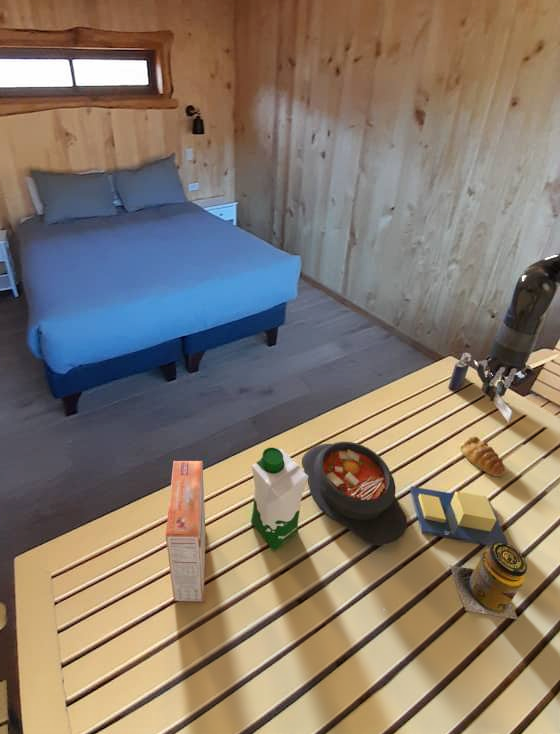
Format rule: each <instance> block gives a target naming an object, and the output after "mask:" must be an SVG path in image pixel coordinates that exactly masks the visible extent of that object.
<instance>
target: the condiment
mask: <svg viewBox="0 0 560 734" xmlns="http://www.w3.org/2000/svg"><path fill="white" fill-rule="evenodd" d="M449 568H450V570H451V573H452V576H453V579H454V582H455V585H456V588H457V591H458V595H459V596H460V599H461V602H462V604H463V605H462V606H463V607H464V610H465V611H466V612H471V613H472V612H473V613H479V614H485V615H490V616H493V617H501V618H506V619H513V620H519V618H518V615H517V613H516V611H515V609H514V607H513V605H512V603H511V602H512V601H513V600H514V598H515V596H516V595H517V594H518V591H519V590H520V588H521V587H522V586H523V584H524V582H525V575H526V573H527V570H528V564H527V562H526V559H525V557H524V555H523V554H522V553H521V552H520V551H519V550H518V549H517V548H515V547H514V546H513V545H511V544H510V543H508V544H507V543H505V542H499V541H498V542H494V543H492V545H490V546H488V548H486V549H484V551H483V552H482V554H481V556H480V558H479V560H478V562H477V563H476V566H475V567H474V568H470V567H464V566H463V567H462V566H457V565H451V564H450V565H449Z"/></svg>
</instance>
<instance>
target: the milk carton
mask: <svg viewBox="0 0 560 734" xmlns="http://www.w3.org/2000/svg"><path fill="white" fill-rule="evenodd" d="M251 471H252V477H253V483H254V491H253V504H252V505H253V507H252V514H251V520H250V524H252V526H253V527H254V528H255V530H256V531H257V532H258V534H259V535H260V536H261V538H263V540H264V541H265V543H266V544H267V545H268V547H269V548H270V549H271V550H272V552H275V551H276V550H277V549H279V548H280V547H281V546H282V545H284V544H285V543H286V542H288V540H290V539H291V538H292V537H294V536H295V535H296V534H298V533H299V516H300V512H301V503H302V498H303V493H304V491H305V487H306V484H307V483H308V475H307V474H306V473H305V471H304V469H303V468H301V467H300V465H299V464H298V463H296V461H294V459H293V458H292V457H290V456H289V454H287V453H286V452H285V451H284V450H283V449H282V448H281V447H279V448H277V447H267V448H265V449H264V451H263V452H262V456H261V458H260V459H259V460H258V461H256V462H255V463H254V464H253V465H252V466H251Z"/></svg>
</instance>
